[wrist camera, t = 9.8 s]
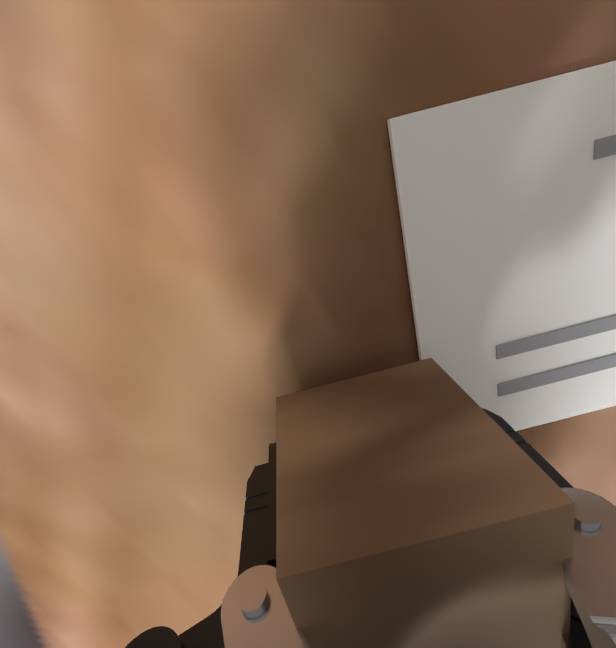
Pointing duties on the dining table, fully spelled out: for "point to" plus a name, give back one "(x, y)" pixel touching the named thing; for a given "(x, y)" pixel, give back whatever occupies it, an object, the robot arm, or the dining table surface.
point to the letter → (516, 242)
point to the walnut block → (415, 519)
